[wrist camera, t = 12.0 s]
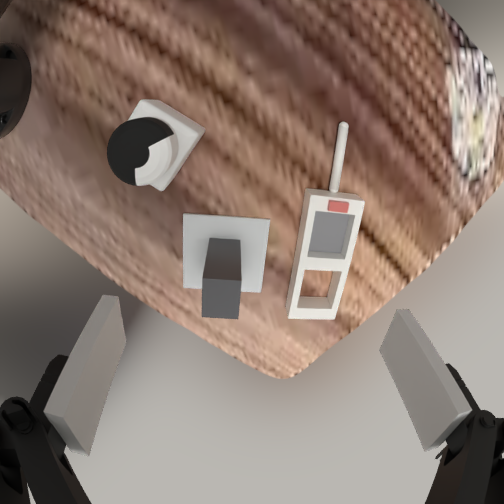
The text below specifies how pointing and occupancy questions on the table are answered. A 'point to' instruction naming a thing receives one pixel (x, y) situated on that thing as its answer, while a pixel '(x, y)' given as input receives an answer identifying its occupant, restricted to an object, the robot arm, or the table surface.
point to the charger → (222, 279)
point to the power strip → (325, 241)
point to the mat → (224, 227)
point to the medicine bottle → (152, 144)
